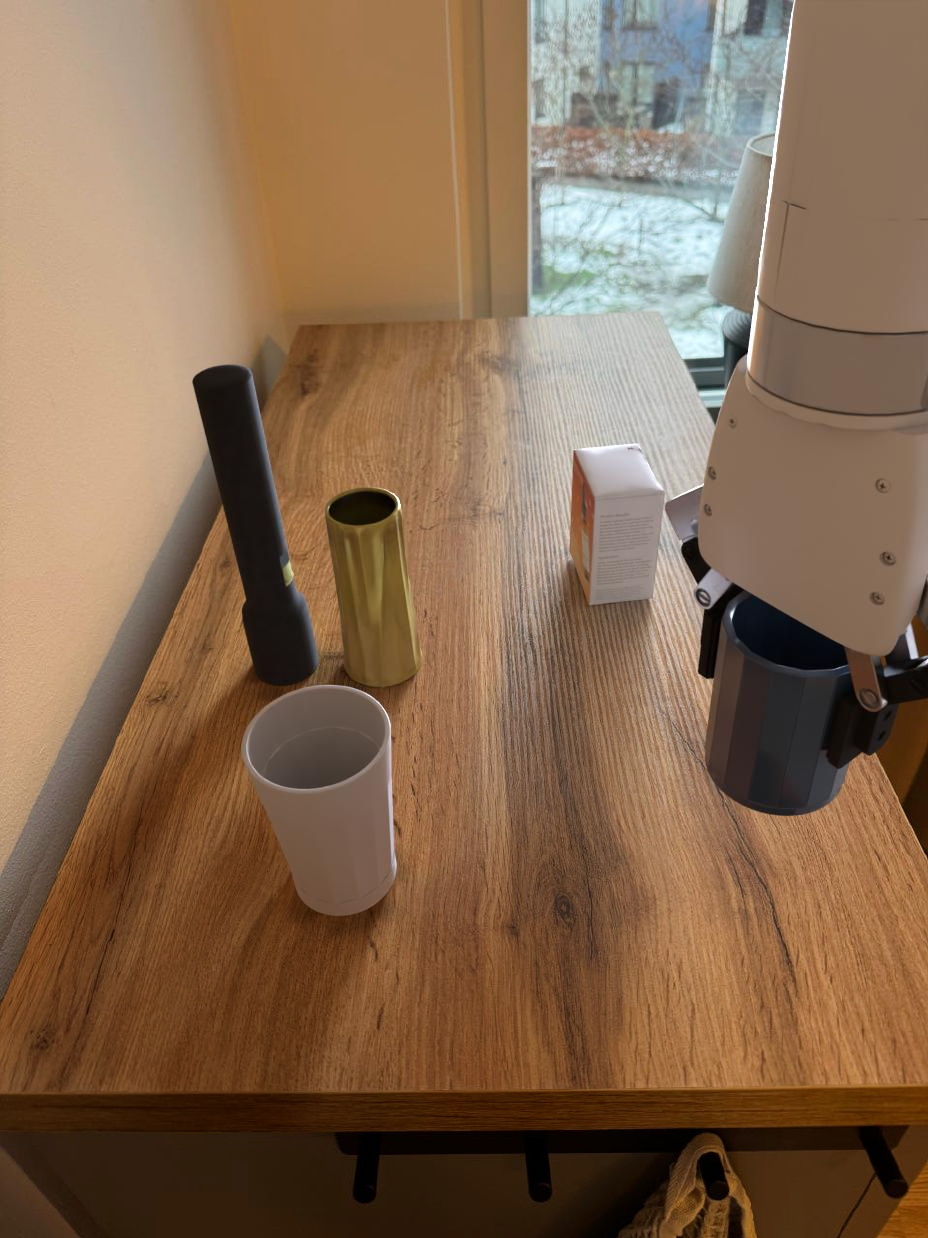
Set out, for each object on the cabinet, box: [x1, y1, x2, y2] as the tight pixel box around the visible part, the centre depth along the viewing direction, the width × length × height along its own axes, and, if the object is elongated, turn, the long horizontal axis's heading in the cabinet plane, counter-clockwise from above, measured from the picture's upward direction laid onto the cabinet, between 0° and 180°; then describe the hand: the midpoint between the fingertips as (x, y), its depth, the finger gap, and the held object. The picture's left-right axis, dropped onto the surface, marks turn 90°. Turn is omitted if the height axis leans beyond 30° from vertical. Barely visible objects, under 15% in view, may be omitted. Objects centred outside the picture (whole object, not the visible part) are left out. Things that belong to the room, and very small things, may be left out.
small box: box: [568, 443, 666, 606], centre depth 76 cm, size 8×6×10 cm
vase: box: [324, 486, 423, 688], centre depth 67 cm, size 6×6×14 cm
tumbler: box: [704, 590, 854, 817], centre depth 43 cm, size 7×7×9 cm
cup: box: [240, 684, 398, 917], centre depth 53 cm, size 8×8×12 cm
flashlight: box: [191, 363, 320, 687], centre depth 64 cm, size 5×24×5 cm
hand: (785, 703), depth 44 cm, fingers closed on tumbler, 6 cm apart
